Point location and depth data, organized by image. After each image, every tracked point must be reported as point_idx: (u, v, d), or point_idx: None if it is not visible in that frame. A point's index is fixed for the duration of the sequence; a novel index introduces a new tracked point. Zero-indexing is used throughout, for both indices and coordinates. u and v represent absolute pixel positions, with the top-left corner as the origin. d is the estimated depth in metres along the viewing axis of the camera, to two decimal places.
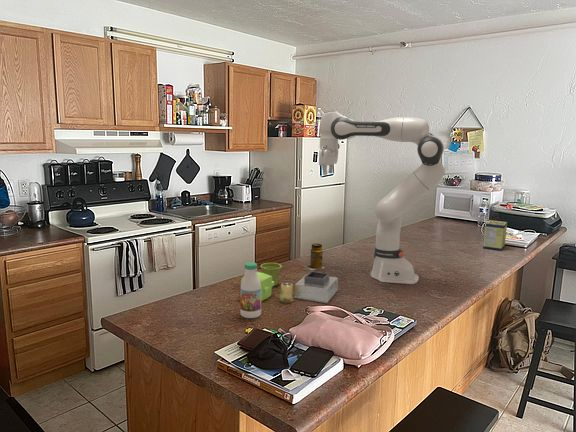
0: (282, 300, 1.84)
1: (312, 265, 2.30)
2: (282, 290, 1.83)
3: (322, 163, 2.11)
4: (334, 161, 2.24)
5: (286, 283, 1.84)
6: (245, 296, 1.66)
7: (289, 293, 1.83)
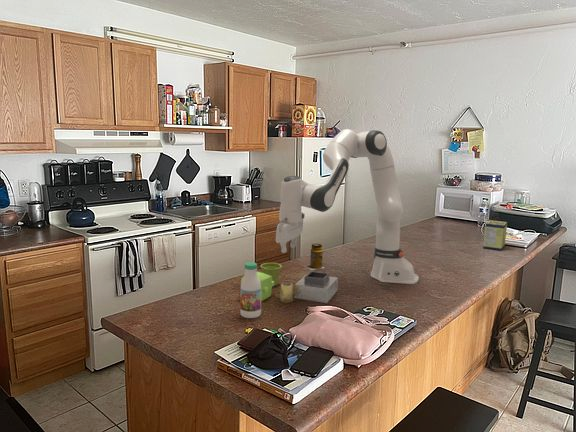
0: (282, 300, 1.84)
1: (312, 265, 2.30)
2: (282, 290, 1.83)
3: (280, 240, 1.75)
4: (297, 233, 1.88)
5: (286, 283, 1.84)
6: (245, 296, 1.66)
7: (289, 293, 1.83)
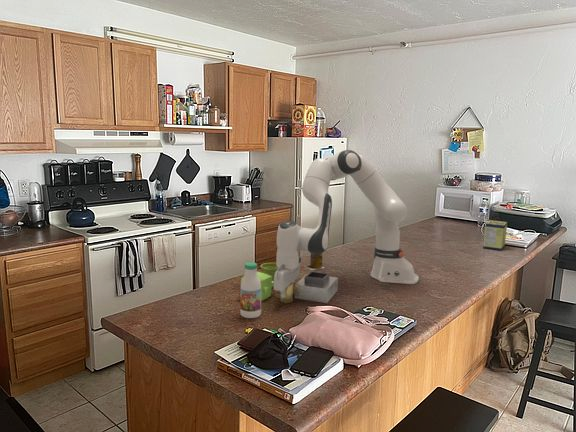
0: (282, 300, 1.84)
1: (312, 265, 2.30)
2: None
3: (278, 288, 1.75)
4: (295, 277, 1.88)
5: None
6: (245, 296, 1.66)
7: (289, 293, 1.83)
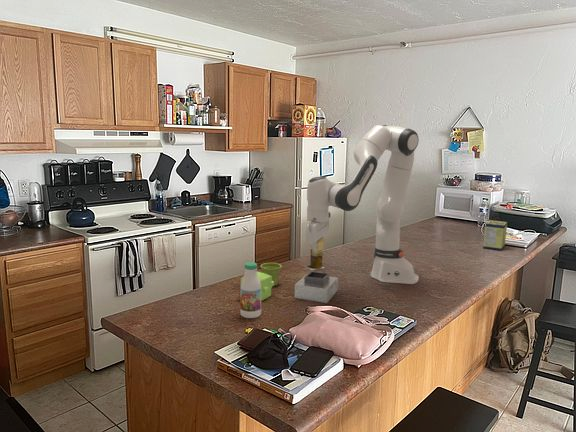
0: (314, 254, 1.88)
1: (312, 265, 2.30)
2: None
3: (310, 240, 1.79)
4: (325, 232, 1.92)
5: None
6: (245, 296, 1.66)
7: (320, 246, 1.87)
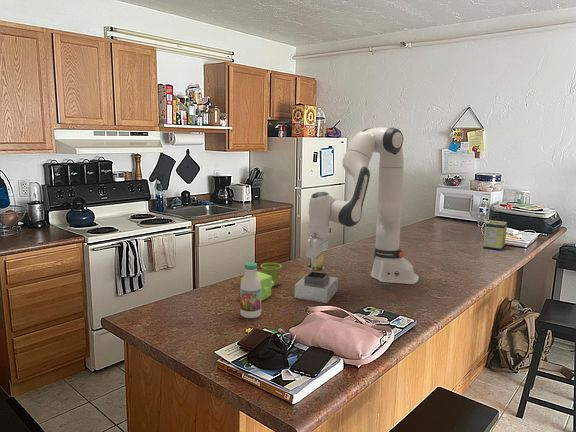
0: (313, 268, 1.90)
1: None
2: None
3: (310, 255, 1.81)
4: (325, 247, 1.94)
5: None
6: (245, 296, 1.66)
7: (319, 261, 1.89)
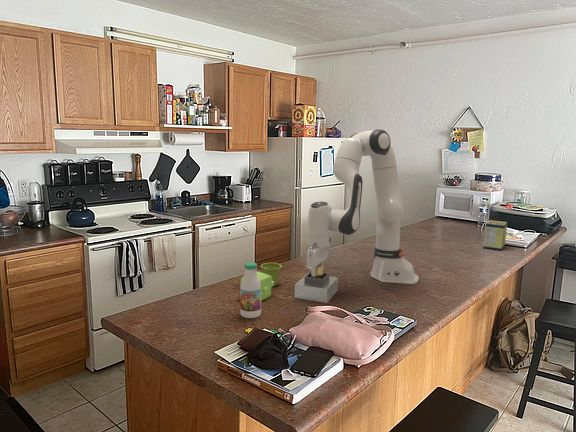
0: None
1: None
2: None
3: (310, 265, 1.81)
4: (325, 256, 1.94)
5: None
6: (245, 296, 1.66)
7: (320, 273, 1.89)
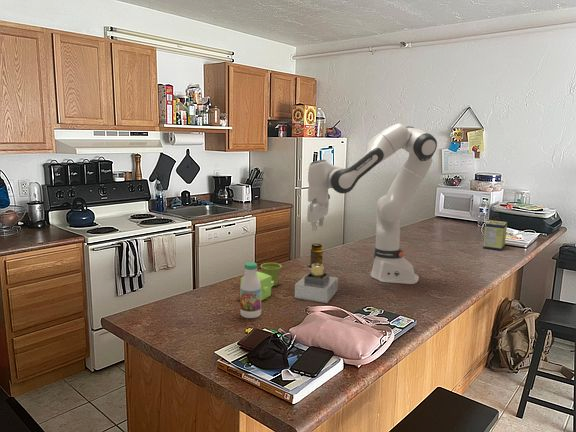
0: None
1: None
2: (313, 270, 1.90)
3: (311, 219, 1.91)
4: (324, 213, 2.04)
5: (317, 264, 1.91)
6: (245, 296, 1.66)
7: (320, 273, 1.89)
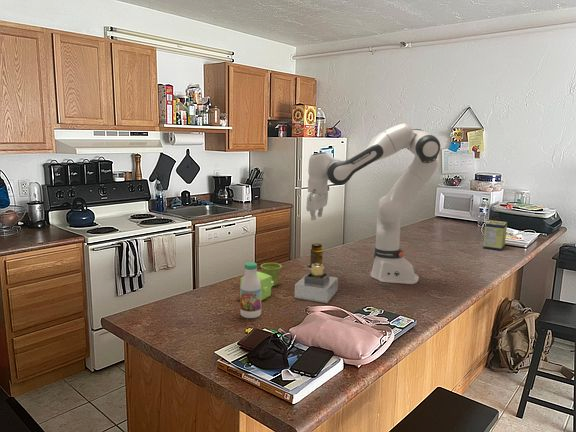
0: None
1: None
2: (313, 270, 1.90)
3: (310, 209, 1.98)
4: (323, 204, 2.11)
5: (317, 264, 1.91)
6: (245, 296, 1.66)
7: (319, 273, 1.89)
